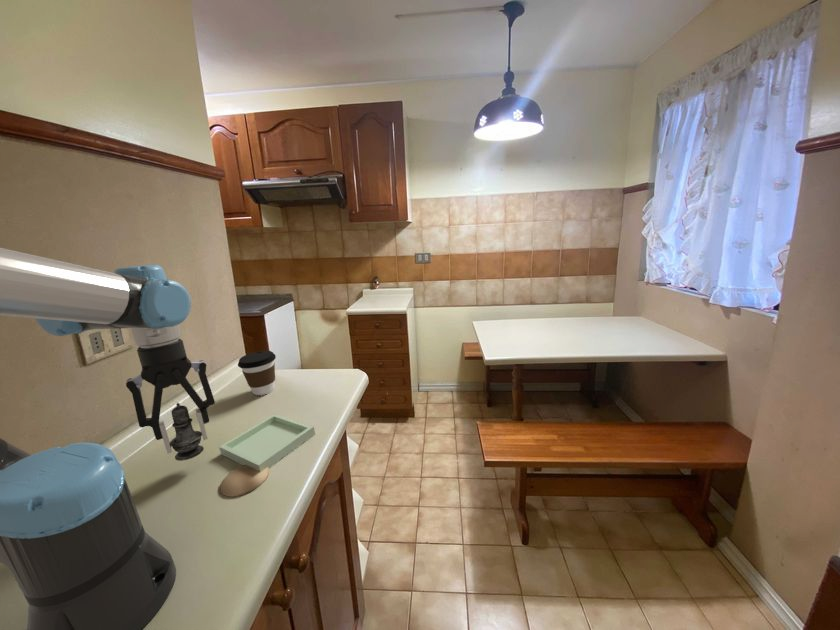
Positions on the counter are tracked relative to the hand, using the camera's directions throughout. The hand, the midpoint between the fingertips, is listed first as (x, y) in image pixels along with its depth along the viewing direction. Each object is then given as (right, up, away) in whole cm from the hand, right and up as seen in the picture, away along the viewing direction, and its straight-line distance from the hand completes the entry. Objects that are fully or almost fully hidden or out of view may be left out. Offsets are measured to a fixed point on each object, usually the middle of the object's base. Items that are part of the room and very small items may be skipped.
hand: (187, 443), depth 74 cm
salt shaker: (0, -2, 0) cm, 3 cm away
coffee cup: (0, +3, +36) cm, 36 cm away
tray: (+15, -3, +7) cm, 17 cm away
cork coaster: (+15, -6, -4) cm, 16 cm away
